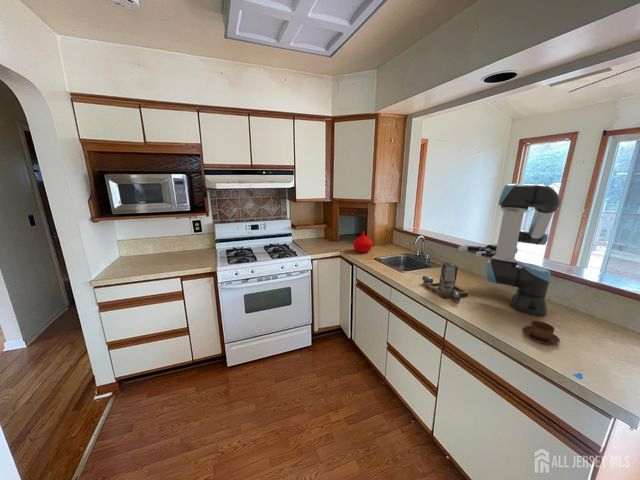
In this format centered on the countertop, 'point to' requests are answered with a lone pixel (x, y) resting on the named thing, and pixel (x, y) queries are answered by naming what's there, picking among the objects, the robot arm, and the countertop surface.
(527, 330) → the cup and saucer
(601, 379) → the countertop surface
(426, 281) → the shaft
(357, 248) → the vase
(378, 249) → the countertop surface
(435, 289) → the coupling cradle
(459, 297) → the shaft
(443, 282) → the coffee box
